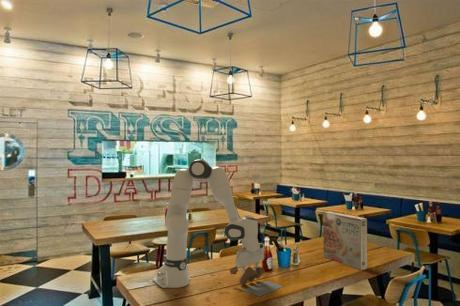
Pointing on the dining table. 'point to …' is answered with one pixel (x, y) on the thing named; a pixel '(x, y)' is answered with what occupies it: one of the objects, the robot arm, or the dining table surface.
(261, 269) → the wooden block set
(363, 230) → the pizza box
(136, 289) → the dining table surface
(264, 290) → the mat
